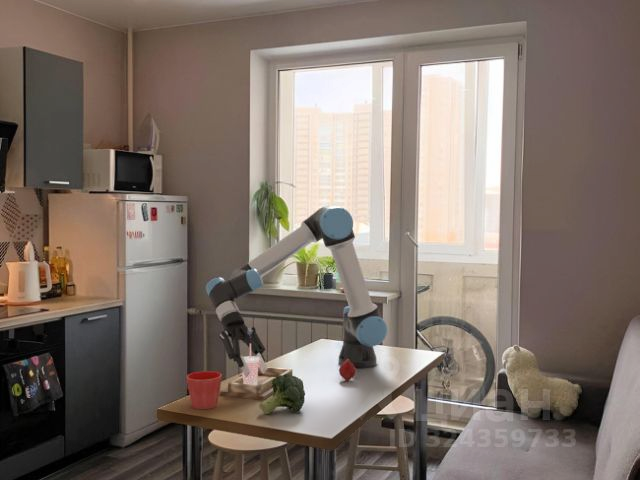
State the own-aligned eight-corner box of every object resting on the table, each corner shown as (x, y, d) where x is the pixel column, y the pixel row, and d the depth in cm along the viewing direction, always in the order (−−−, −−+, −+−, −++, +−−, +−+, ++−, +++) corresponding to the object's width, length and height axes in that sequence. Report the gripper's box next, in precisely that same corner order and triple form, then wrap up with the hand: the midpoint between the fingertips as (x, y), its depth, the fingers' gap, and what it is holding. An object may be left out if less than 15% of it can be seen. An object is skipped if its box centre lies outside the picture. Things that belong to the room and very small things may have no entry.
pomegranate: (335, 380, 238) (336, 358, 237) (346, 377, 242) (346, 356, 242) (348, 384, 234) (348, 361, 233) (358, 380, 238) (358, 358, 238)
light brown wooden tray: (294, 379, 238) (294, 369, 238) (264, 400, 214) (264, 388, 214) (254, 375, 244) (254, 365, 244) (220, 394, 219) (220, 383, 219)
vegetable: (250, 400, 207) (289, 374, 213) (273, 433, 202) (313, 406, 208) (251, 386, 197) (292, 359, 203) (276, 421, 192) (317, 393, 198)
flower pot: (183, 402, 211) (183, 372, 210) (217, 399, 215) (217, 369, 214) (190, 412, 201) (190, 381, 200) (225, 408, 205) (225, 377, 205)
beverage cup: (242, 381, 226) (242, 341, 226) (260, 382, 226) (260, 341, 225) (239, 387, 220) (239, 345, 219) (258, 387, 220) (258, 345, 219)
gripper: (248, 320, 240) (275, 374, 228) (202, 326, 228) (227, 383, 216) (257, 307, 236) (284, 362, 224) (210, 313, 223) (236, 371, 212)
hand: (256, 372), depth 220 cm, fingers closed on beverage cup, 6 cm apart
